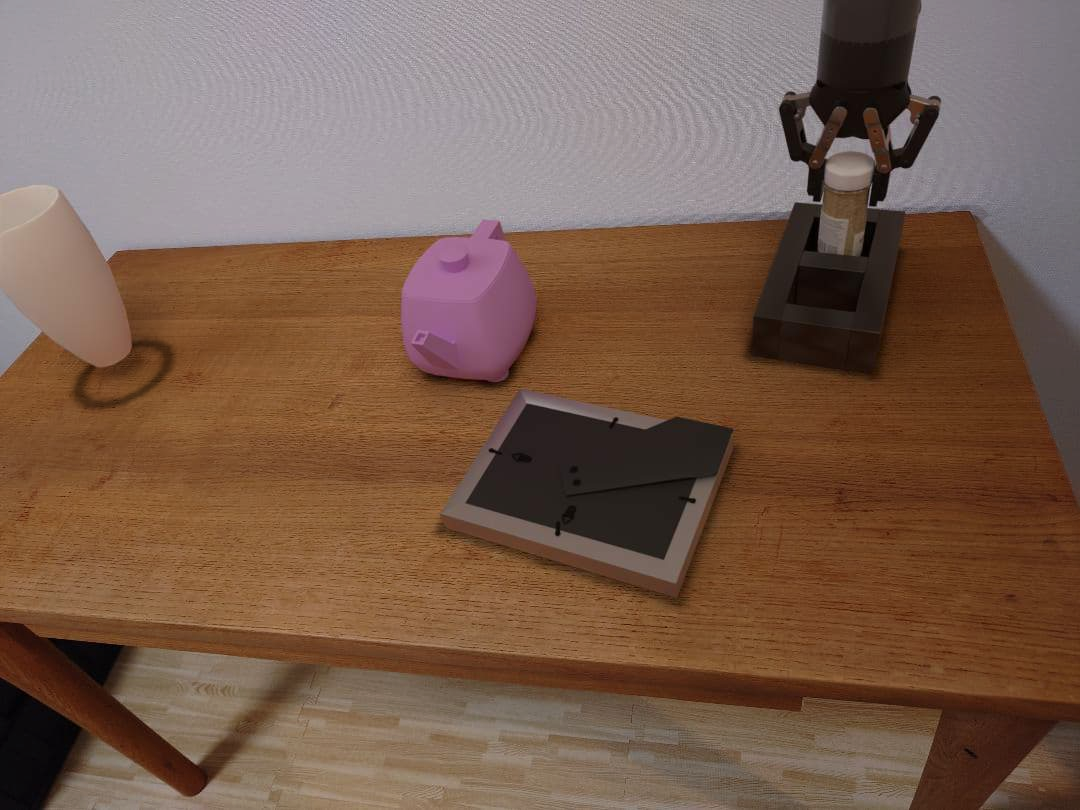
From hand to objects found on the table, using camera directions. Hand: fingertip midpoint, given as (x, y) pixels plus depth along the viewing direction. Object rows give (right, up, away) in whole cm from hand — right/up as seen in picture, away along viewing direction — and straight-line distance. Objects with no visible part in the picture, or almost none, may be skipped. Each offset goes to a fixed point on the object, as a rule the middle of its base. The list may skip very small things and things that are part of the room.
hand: (845, 199), depth 79 cm
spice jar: (+1, -7, +7) cm, 10 cm away
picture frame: (-26, -28, -9) cm, 39 cm away
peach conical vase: (-78, -17, +14) cm, 81 cm away
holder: (0, -9, +4) cm, 10 cm away
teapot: (-37, -15, +7) cm, 40 cm away
